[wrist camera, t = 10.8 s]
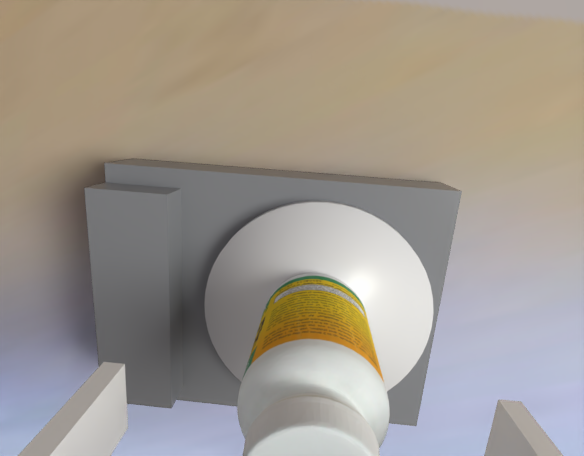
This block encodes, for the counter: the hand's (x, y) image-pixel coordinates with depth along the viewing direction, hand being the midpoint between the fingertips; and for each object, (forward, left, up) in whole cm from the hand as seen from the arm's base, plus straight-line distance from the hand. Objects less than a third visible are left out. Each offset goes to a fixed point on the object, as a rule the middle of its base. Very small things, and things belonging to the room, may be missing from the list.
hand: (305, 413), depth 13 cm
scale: (-2, 0, -10) cm, 11 cm away
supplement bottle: (0, 0, -7) cm, 7 cm away
